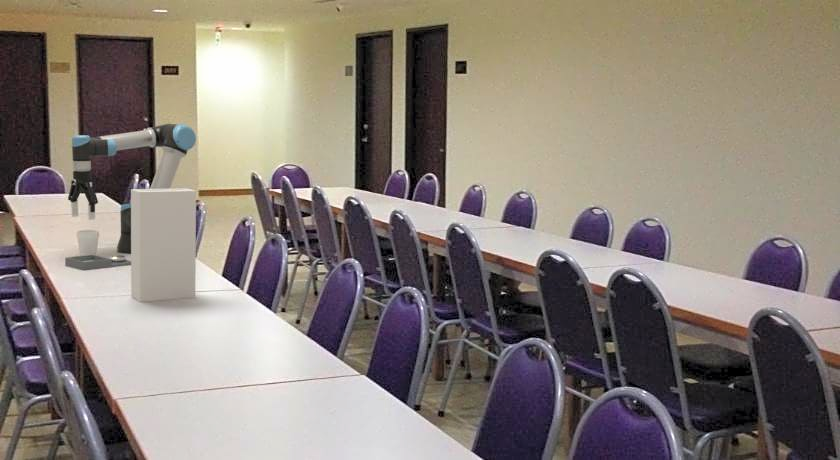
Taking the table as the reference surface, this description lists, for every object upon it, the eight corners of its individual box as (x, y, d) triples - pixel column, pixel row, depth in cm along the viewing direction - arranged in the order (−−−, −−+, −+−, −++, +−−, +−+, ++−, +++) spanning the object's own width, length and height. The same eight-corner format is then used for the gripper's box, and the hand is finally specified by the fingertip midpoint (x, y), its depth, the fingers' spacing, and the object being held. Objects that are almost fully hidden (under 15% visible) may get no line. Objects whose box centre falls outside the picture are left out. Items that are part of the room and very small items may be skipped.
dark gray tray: (116, 259, 433) (116, 252, 432) (135, 264, 423) (135, 256, 423) (65, 265, 414) (65, 257, 413) (84, 270, 404) (83, 262, 404)
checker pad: (118, 258, 430) (118, 253, 430) (129, 260, 424) (129, 256, 424) (100, 260, 423) (100, 255, 423) (111, 262, 417) (111, 258, 417)
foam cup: (92, 262, 425) (91, 233, 423) (73, 260, 426) (72, 232, 425) (103, 259, 434) (103, 230, 432) (84, 257, 436) (84, 229, 434)
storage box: (140, 302, 345) (139, 191, 340) (131, 296, 354) (130, 189, 349) (195, 297, 357) (196, 190, 352) (185, 292, 366) (186, 188, 361)
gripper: (58, 169, 427) (60, 216, 430) (89, 172, 412) (91, 221, 415) (74, 168, 433) (75, 214, 436) (105, 171, 417) (106, 219, 420)
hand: (83, 218), depth 425 cm, fingers open, 13 cm apart
